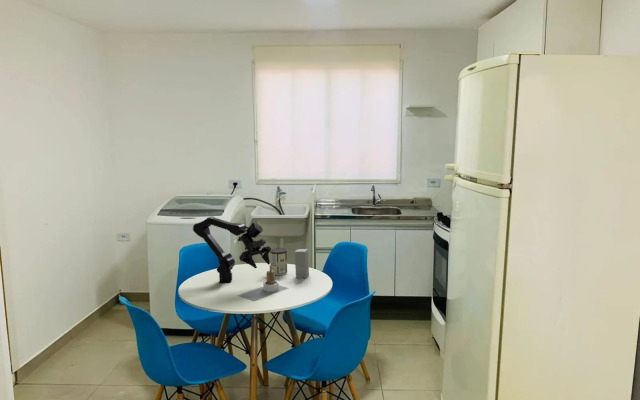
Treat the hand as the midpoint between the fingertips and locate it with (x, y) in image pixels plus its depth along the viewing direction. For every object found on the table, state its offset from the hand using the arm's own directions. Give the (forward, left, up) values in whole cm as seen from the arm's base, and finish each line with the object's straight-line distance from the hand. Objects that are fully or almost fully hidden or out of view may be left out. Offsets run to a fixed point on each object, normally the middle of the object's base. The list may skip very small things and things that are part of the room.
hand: (262, 266), depth 236 cm
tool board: (+1, -8, -12) cm, 15 cm away
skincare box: (+21, +21, -13) cm, 32 cm away
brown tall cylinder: (+4, -4, -11) cm, 13 cm away
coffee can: (+7, +29, -13) cm, 32 cm away
